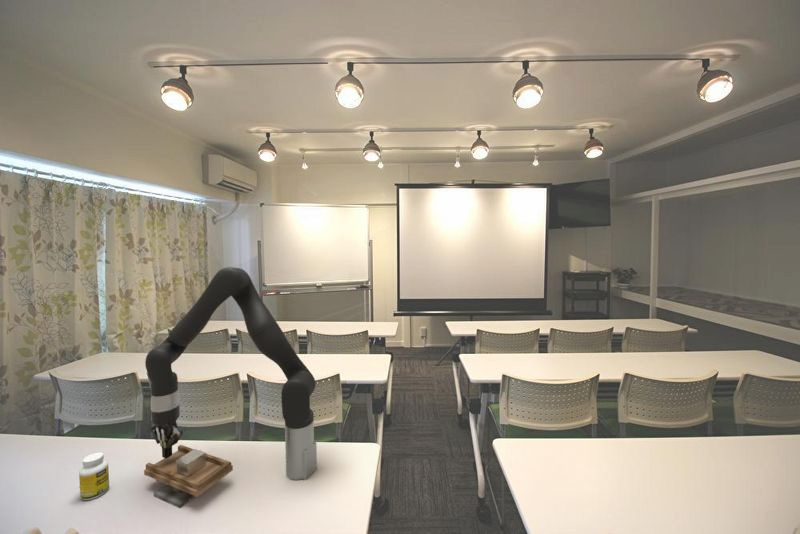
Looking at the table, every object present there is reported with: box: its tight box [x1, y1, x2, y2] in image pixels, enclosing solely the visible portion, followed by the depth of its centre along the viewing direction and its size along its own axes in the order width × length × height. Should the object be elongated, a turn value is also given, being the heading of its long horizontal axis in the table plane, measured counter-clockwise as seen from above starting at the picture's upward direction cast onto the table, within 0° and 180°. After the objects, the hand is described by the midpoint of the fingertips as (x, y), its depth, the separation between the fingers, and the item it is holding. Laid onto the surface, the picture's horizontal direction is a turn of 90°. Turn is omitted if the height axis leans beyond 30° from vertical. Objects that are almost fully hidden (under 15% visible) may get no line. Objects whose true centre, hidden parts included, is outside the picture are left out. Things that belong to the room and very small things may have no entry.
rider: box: [176, 448, 207, 477], centre depth 102 cm, size 5×6×4 cm
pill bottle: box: [78, 452, 110, 501], centre depth 99 cm, size 6×6×12 cm
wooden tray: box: [143, 444, 234, 509], centre depth 102 cm, size 24×14×8 cm, turn 68°
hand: (167, 456), depth 106 cm, fingers closed
